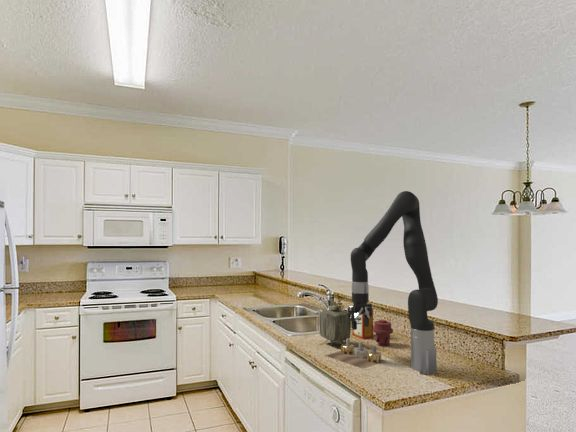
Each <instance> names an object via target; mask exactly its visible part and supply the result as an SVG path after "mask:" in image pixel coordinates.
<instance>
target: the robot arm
mask: <svg viewBox="0 0 576 432" xmlns="http://www.w3.org/2000/svg"><path fill="white" fill-rule="evenodd" d="M420 208H421V207H420V201H419V199H418V197H417V196H416V195H415V194H414V193H413V192H411V191H410V190H409V191H408V190H405V191H401V192H400V193H398V194H397V195H396V197H395V199H394V200H393V202H392V203H391V204H390V206H389V208H388V209H387V211H386V212H385V213H384V215H383V216H382V217H381V218H380V220H379V221H378V223H376V225H375V226H374V227H373V228H372V229H371V230H370V232H368V233H367V235H366V236H365V237H364V240H363V241H362V242H361V244H360V245H359V246H358V247H354V248H353V249H352V251H351V252H350V264H351V270H352V272H351V275H352V276H351V279H352V281H351V302H352V303H353V305H348V309H347V310H348V311H347V312H348V319H349V320H351V330H352V329H354V330H356V329H357V321H356V320H357V318H358V317H359V316H360V315H361V314H363V316H364V326H365V327H369V318H370V316H372V309H373V306H372V305H373V304H372V303H370V302H369V301H370V299H369V296H370V295H369V294H370V293H369V292H370V291H369V273H368V272H369V271H368V269H367V261H368V260H369V258H370V257H371V256H372V255H373V253H374V252H375V251H376V250H377V248H378V247H379V246H380V245H381V244H383V242H384V241H385V240H386V238H387V237H388V236H389V235H390V233H391V231H392V230H393V228H394V226H396V223H398V221H399V220H400V219H401V218H402V222H403V227H404V228H403V250H404V255H405V256H404V257H405V259H406V262H407V264H408V266H409V268H410V269H411V270H412V272H413V273H414V275H415V277H416V280H417V284H418V288H417V289H413V290H411V291H410V293H409V294H408V297H407V310H408V311H407V313H408V321H409V324H410V368H411V369H412V370H413V371H417V372H419V374H420V375H421V374H423V375H428V376H429V375H432V374H434V373H436V372H437V371H438V370H437V348H436V347H435V323H434V321H432V320H430V319H429V318H428V312H431V311H434V310H436V309H437V307H438V303H439V299H438V294H437V290H436V287H435V283H434V280H433V279H434V278H433V276H432V272H431V265H430V260H429V256H428V255H429V254H428V247H427V243H426V238H425V234H424V231H423V228H422V222H421V211H420ZM369 311H370V313H369ZM355 313H356V314H355ZM354 317H355V318H354Z"/></svg>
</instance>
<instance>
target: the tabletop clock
mask: <svg viewBox="0 0 576 432" xmlns="http://www.w3.org/2000/svg"><path fill="white" fill-rule="evenodd" d="M332 298H336V299H337V301H338V302H337V301H332ZM340 302H341V301H340V298H339V297H338V296H336V295H331V297H330V303H331V304H333V305H330V307H329V309H326V310H324V309H323V310H322V311H321V312H320V314H319V335H320V337H322V338H324V339H326V340H328V341H329V342H330V344H329V346H331V347H332V346H333V342H334V343H335V342H337V343H338V342H340V343H342V344H344V340H346V339H347V338H349V339H350V338H351V333H352V321H351V320H349V319H348V311H346V310H343V309H341V308H340V306H339V304H340ZM342 344H341V345H342Z"/></svg>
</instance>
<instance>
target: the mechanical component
mask: <svg viewBox="0 0 576 432" xmlns="http://www.w3.org/2000/svg"><path fill="white" fill-rule="evenodd" d="M374 333H375V342H376V344H377V345H378V347H385V346H387V347H388V346H390V342H391V341H390V339H391V335H392V334H393V333H394V329H393V328H392V322H390V321H387V320H386V319H378V320H375V321H373V334H374Z"/></svg>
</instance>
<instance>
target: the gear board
mask: <svg viewBox="0 0 576 432" xmlns="http://www.w3.org/2000/svg"><path fill="white" fill-rule="evenodd" d="M350 344H351V343H350V338H347V339H346V346H350ZM358 348H359V350H362V348H363V342H362V341H359V342H358ZM371 351H372V354H376V352H377V347H376V345H372V346H371ZM324 356H325V357H327V358H331V359H334V360H336V361H339V362H342V363H345V364H348V365H351V366H354V367H356V368H360V369H366V368H369V367H371V366H375V365H378V364H381V363H384V362H386V361H387V360H385V359H382V358H381V362H379V363H376V362H373V363H372V362H370V361H367V358H356V357H355V356H354V354H343V353H342V352H341V350H340V351H335V352H332V353H328V354H324Z"/></svg>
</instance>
